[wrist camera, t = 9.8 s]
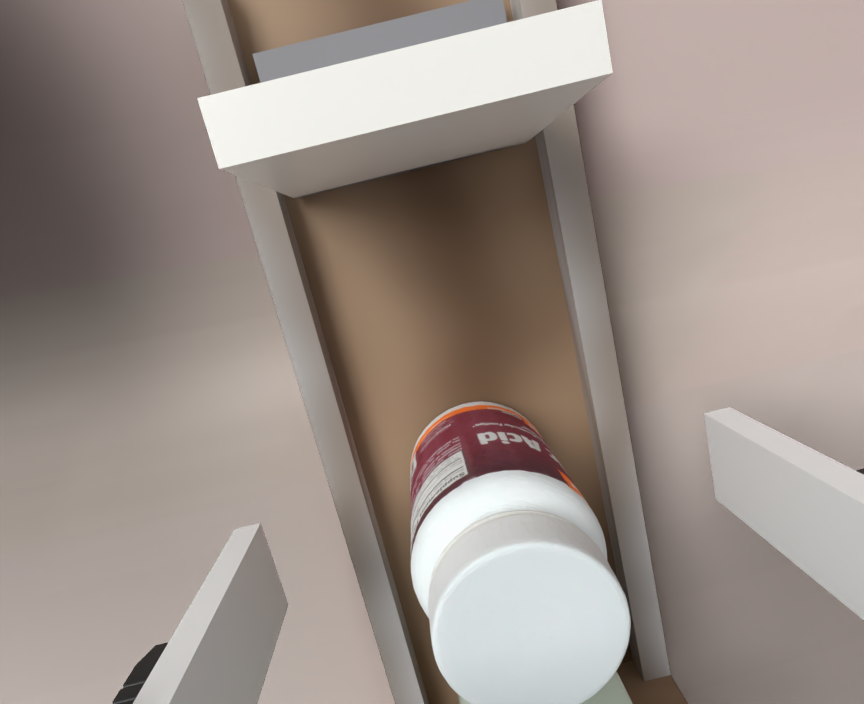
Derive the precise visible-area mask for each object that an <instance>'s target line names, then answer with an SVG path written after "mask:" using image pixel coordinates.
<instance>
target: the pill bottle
mask: <svg viewBox="0 0 864 704" xmlns="http://www.w3.org/2000/svg"><path fill="white" fill-rule="evenodd" d="M410 493H411V557H410V569H411V578H412V583H413V588H414V591H415V593H416V596H417V598H418V601H419V603H420V605H421V607H422V608H423V610H424V612H425V613H426V615H427V617H428V618H429V621H430V633H431V642H432V648H433V652H434V657H435V660H436V663H437V665H438V668H439V670H440V672H441V673H442V675H443V677H444V678H445V680H446V681H447V683H448V684H449V685H450V687H451V688H452V689H453V690H454V691H455V692H456V693H457V694H458V695H459V696H461V697H462V698H463V699H464V700H466V701H467V702H469V703H471V704H581V703H583V702H584V701H586V700H587V699H589V698H590V697H592V696H593V695H595V694H596V693H597V692H598V691H599V690H600V689H601V688H602V687H603V686H604V685H605V684H606V683H607V682H608V681H609V680H610V679H611V678H612V676H613V675H614V674H615V672H616V671H617V669H618V667H619V665H620V663H621V662H622V660H623V657H624V655H625V653H626V650H627V646H628V642H629V637H630V629H631V619H630V612H629V606H628V602H627V599H626V596H625V593H624V591H623V589H622V587H621V585H620V583H619V581H618V579H617V578H616V576H615V574H614V572H613V571H612V569H611V567H610V565H609V563H608V561H607V549H606V543H605V538H604V534H603V531H602V529H601V526H600V524H599V522H598V519H597V518H596V516H595V514H594V513H593V511H592V509H591V508H590V506H589V505H588V503H587V502H586V500H585V499H584V497H583V496H582V494H581V493H580V492H579V490H578V488H577V487H576V485H575V484H574V483H573V481H572V480H571V478H570V477H569V475H568V474H567V473H566V471H565V470H564V468H563V466H562V465H561V463H560V462H559V461H558V459H557V458H556V457H555V455H554V454H553V452H552V451H551V449H550V448H549V447H548V445H547V444H546V442H545V441H544V440H543V438H542V437H541V435H540V434H539V432H538V431H537V429H536V428H535V427H534V426H533V425H532V424H531V422H530V421H529V420H527V419H526V418H525V417H524V416H523V415H521V414H520V413H518V412H517V411H515V410H513V409H511V408H509V407H506V406H504V405H501V404H497V403H492V402H470V403H465V404H461V405H458V406H456V407H453V408H451V409H449V410H447V411H445V412H443V413H442V414H440V415H439V416H438V417H436V418H435V419H434V420H433V421H432V422H431V423H430V424H429V425H428V426H427V427H426V428H425V429H424V430H423V432H422V433H421V435H420V436H419V438H418V440H417V442H416V444H415V447H414V450H413V453H412V458H411V465H410Z"/></svg>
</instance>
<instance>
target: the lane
mask: <svg viewBox="0 0 864 704" xmlns="http://www.w3.org/2000/svg"><path fill="white" fill-rule="evenodd" d="M467 1H471V0H182V2H183V5H184V8H185V12H186V15H187V18H188V22H189V25H190V28H191V32H192V35H193V38H194V41H195V45H196V48H197V51H198V55H199V58H200V61H201V65H202V68H203V71H204V74H205V78H206V81H207V84H208V88H209V91H210V94H211V95H213V94H217V93H221V92H225V91H229V90H233V89H237V88H241V87H245V86H249V85H253V84H258V83H260V79H259V76H258V72H257V69H256V65H255V62H254V58H253V55H252V54H254V53H258V52H262V51H266V50H271V49H275V48H279V47H283V46H287V45H291V44H295V43H299V42H303V41H307V40H312V39H316V38H320V37H324V36H328V35H332V34H336V33H340V32H344V31H348V30H352V29H357V28H361V27H365V26H369V25H373V24H377V23H381V22H385V21H389V20H393V19H397V18H402V17H406V16H410V15H414V14H418V13H422V12H426V11H430V10H434V9H438V8H442V7H447V6H451V5H455V4H459V3H463V2H467ZM503 3H504V8H505V13H506V19H507V22H511V21H515V20H519V19H524V18H528V17H532V16H536V15H540V14H544V13H548V12H552V11H556V10H557V4H556V0H503ZM235 177H236V180H237V183H238V187H239V190H240V193H241V197H242V200H243V203H244V206H245V210H246V213H247V216H248V220H249V223H250V226H251V230H252V233H253V236H254V239H255V243H256V246H257V249H258V253H259V256H260V259H261V263H262V266H263V269H264V272H265V276H266V279H267V282H268V286H269V289H270V292H271V296H272V299H273V302H274V305H275V309H276V312H277V315H278V319H279V322H280V325H281V329H282V332H283V335H284V338H285V342H286V345H287V348H288V352H289V355H290V358H291V362H292V365H293V368H294V371H295V375H296V378H297V381H298V385H299V388H300V391H301V395H302V398H303V401H304V404H305V408H306V411H307V414H308V418H309V421H310V424H311V428H312V431H313V434H314V437H315V441H316V444H317V447H318V451H319V454H320V457H321V461H322V464H323V467H324V470H325V474H326V477H327V480H328V484H329V487H330V490H331V494H332V497H333V500H334V503H335V507H336V510H337V513H338V517H339V520H340V523H341V527H342V530H343V533H344V536H345V540H346V543H347V546H348V550H349V553H350V556H351V560H352V563H353V566H354V569H355V573H356V576H357V579H358V583H359V586H360V589H361V593H362V596H363V599H364V602H365V606H366V609H367V612H368V616H369V619H370V622H371V626H372V629H373V632H374V635H375V639H376V642H377V645H378V649H379V652H380V655H381V659H382V662H383V665H384V668H385V672H386V675H387V678H388V682H389V685H390V688H391V692H392V695H393V698H394V701H395V704H459V698H458V694H457V693H456V692H455V691H454V690H453V689H452V688H451V687H450V685H449V684H448V683H447V681H446V680H445V678H444V677H443V675H442V673H441V672H440V670H439V668H438V665H437V663H436V660H435V657H434V652H433V648H432V642H431V633H430V621H429V618H428V617H427V615H426V613H425V612H424V610H423V608H422V607H421V605H420V603H419V601H418V598H417V596H416V593H415V591H414V588H413V583H412V578H411V569H410V557H411V493H410V465H411V458H412V453H413V450H414V447H415V444H416V442H417V440H418V438H419V436H420V435H421V433H422V432H423V430H424V429H425V428H426V427H427V426H428V425H429V424H430V423H431V422H432V421H433V420H434V419H435V418H436V417H438V416H439V415H440V414H442V413H443V412H445V411H447V410H449V409H451V408H453V407H456V406H458V405H461V404H465V403H470V402H492V403H497V404H501V405H504V406H506V407H509V408H511V409H513V410H515V411H517V412H518V413H520V414H521V415H523V416H524V417H525V418H526V419H527V420H529V421H530V422H531V424H532V425H533V426H534V427H535V428H536V429H537V431H538V432H539V434H540V435H541V437H542V438H543V440H544V441H545V442H546V444H547V445H548V447H549V448H550V449H551V451H552V452H553V454H554V455H555V457H556V458H557V459H558V461H559V462H560V463H561V465H562V466H563V468H564V470H565V471H566V473H567V474H568V475H569V477H570V478H571V480H572V481H573V483H574V484H575V485H576V487H577V488H578V490H579V492H580V493H581V494H582V496H583V497H584V499H585V500H586V502H587V503H588V505H589V506H590V508H591V509H592V511H593V513H594V514H595V516H596V518H597V519H598V522H599V524H600V526H601V529H602V531H603V534H604V538H605V543H606V549H607V561H608V563H609V565H610V567H611V569H612V571H613V572H614V574H615V576H616V578H617V579H618V581H619V583H620V585H621V587H622V589H623V591H624V593H625V596H626V599H627V602H628V606H629V612H630V619H631V629H630V637H629V642H628V646H627V650H626V653H625V655H624V657H623V660H622V662H621V663H620V665H619V667H618V669H617V673H618V675H619V677H620V679H621V681H622V683H623V685H624V687H625V689H626V691H627V693H628V695H629V697H630V699H631V701H632V703H633V704H688V703H687V701H686V699H685V698H684V696H683V694H682V693H681V691H680V690H679V688H678V686H677V685H676V683H675V681H674V680H673V678H672V677H671V675H670V669H669V663H668V657H667V651H666V645H665V639H664V633H663V627H662V622H661V616H660V610H659V604H658V598H657V592H656V586H655V580H654V575H653V569H652V563H651V557H650V551H649V545H648V539H647V533H646V527H645V522H644V516H643V510H642V504H641V498H640V492H639V486H638V480H637V475H636V469H635V463H634V457H633V451H632V445H631V439H630V433H629V427H628V422H627V416H626V410H625V404H624V398H623V392H622V386H621V380H620V375H619V369H618V363H617V357H616V351H615V345H614V339H613V333H612V328H611V322H610V316H609V310H608V304H607V298H606V292H605V286H604V280H603V275H602V269H601V263H600V257H599V251H598V245H597V239H596V233H595V228H594V222H593V216H592V210H591V204H590V198H589V192H588V186H587V180H586V175H585V169H584V163H583V157H582V151H581V145H580V139H579V133H578V128H577V122H576V116H575V110H574V105H572V106H571V107H570V108H569V109H567V110H566V111H565V112H564V113H562V114H561V115H560V116H559V117H557V118H556V119H555V120H554V121H553V122H551V123H550V124H549V125H548V126H546V127H545V128H544V129H543V130H541V131H540V132H539V133H538V134H536V135H535V136H534V137H533V138H532V139H530V140H529V141H528V142H527V143H524V144H520V145H516V146H512V147H508V148H504V149H500V150H496V151H492V152H488V153H484V154H479V155H475V156H471V157H467V158H463V159H459V160H455V161H451V162H447V163H443V164H439V165H434V166H430V167H426V168H422V169H418V170H414V171H410V172H406V173H402V174H398V175H394V176H390V177H385V178H381V179H377V180H373V181H369V182H365V183H361V184H357V185H353V186H349V187H345V188H340V189H336V190H332V191H328V192H324V193H320V194H316V195H312V196H308V197H304V198H300V199H295V198H292V197H289V196H287V195H284V194H282V193H279V192H277V191H274V190H271V189H269V188H266V187H264V186H261V185H259V184H256V183H253V182H251V181H248V180H246V179H243V178H241V177H238V176H236V175H235Z"/></svg>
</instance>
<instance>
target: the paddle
mask: <svg viewBox="0 0 864 704" xmlns="http://www.w3.org/2000/svg"><path fill="white" fill-rule="evenodd" d="M252 55H253V58H254V62H255V65H256V69H257V72H258V76H259V79H260V83H258V84H253V85H249V86H245V87H241V88H237V89H233V90H229V91H225V92H221V93H217V94H213V95H208V96H204V97H200V98H197V99H198V102H199V106H200V109H201V112H202V115H203V119H204V122H205V125H206V128H207V132H208V135H209V138H210V141H211V145H212V148H213V151H214V154H215V157H216V161H217V164H218V167H219V169H220V170H223V171H225V172H228V173H230V174H233V175H236V176H238V177H241V178H243V179H246V180H248V181H251V182H253V183H256V184H259V185H261V186H264V187H266V188H269V189H271V190H274V191H277V192H279V193H282V194H284V195H287V196H289V197H292V198H295V199H300V198H304V197H308V196H312V195H316V194H320V193H324V192H328V191H332V190H336V189H340V188H345V187H349V186H353V185H357V184H361V183H365V182H369V181H373V180H377V179H381V178H385V177H390V176H394V175H398V174H402V173H406V172H410V171H414V170H418V169H422V168H426V167H430V166H434V165H439V164H443V163H447V162H451V161H455V160H459V159H463V158H467V157H471V156H475V155H479V154H484V153H488V152H492V151H496V150H500V149H504V148H508V147H512V146H516V145H520V144H524V143H527V142H528V141H529V140H530V139H532V138H533V137H534V136H535V135H536V134H538V133H539V132H540V131H541V130H543V129H544V128H545V127H546V126H548V125H549V124H550V123H551V122H553V121H554V120H555V119H556V118H557V117H559V116H560V115H561V114H562V113H564V112H565V111H566V110H567V109H569V108H570V107H571V106H572V105H574V104H575V103H576V102H577V101H579V100H580V99H581V98H582V97H583V96H585V95H586V94H587V93H588V92H590V91H591V90H592V89H593V88H595V87H596V86H597V85H598V84H600V83H601V82H602V81H603V80H604V79H606V78H607V77H608V76H609V75H611V74H612V73H613V71H612V65H611V58H610V52H609V45H608V39H607V32H606V26H605V19H604V13H603V6H602V0H597V1H593V2H589V3H585V4H581V5H577V6H573V7H569V8H564V9H560V10H556V11H552V12H548V13H544V14H540V15H536V16H532V17H528V18H524V19H519V20H515V21H511V22H507V19H506V13H505V8H504V3H503V0H471V1H467V2H463V3H459V4H455V5H451V6H447V7H442V8H438V9H434V10H430V11H426V12H422V13H418V14H414V15H410V16H406V17H402V18H397V19H393V20H389V21H385V22H381V23H377V24H373V25H369V26H365V27H361V28H357V29H352V30H348V31H344V32H340V33H336V34H332V35H328V36H324V37H320V38H316V39H312V40H307V41H303V42H299V43H295V44H291V45H287V46H283V47H279V48H275V49H271V50H266V51H262V52H258V53H254V54H252Z"/></svg>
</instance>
